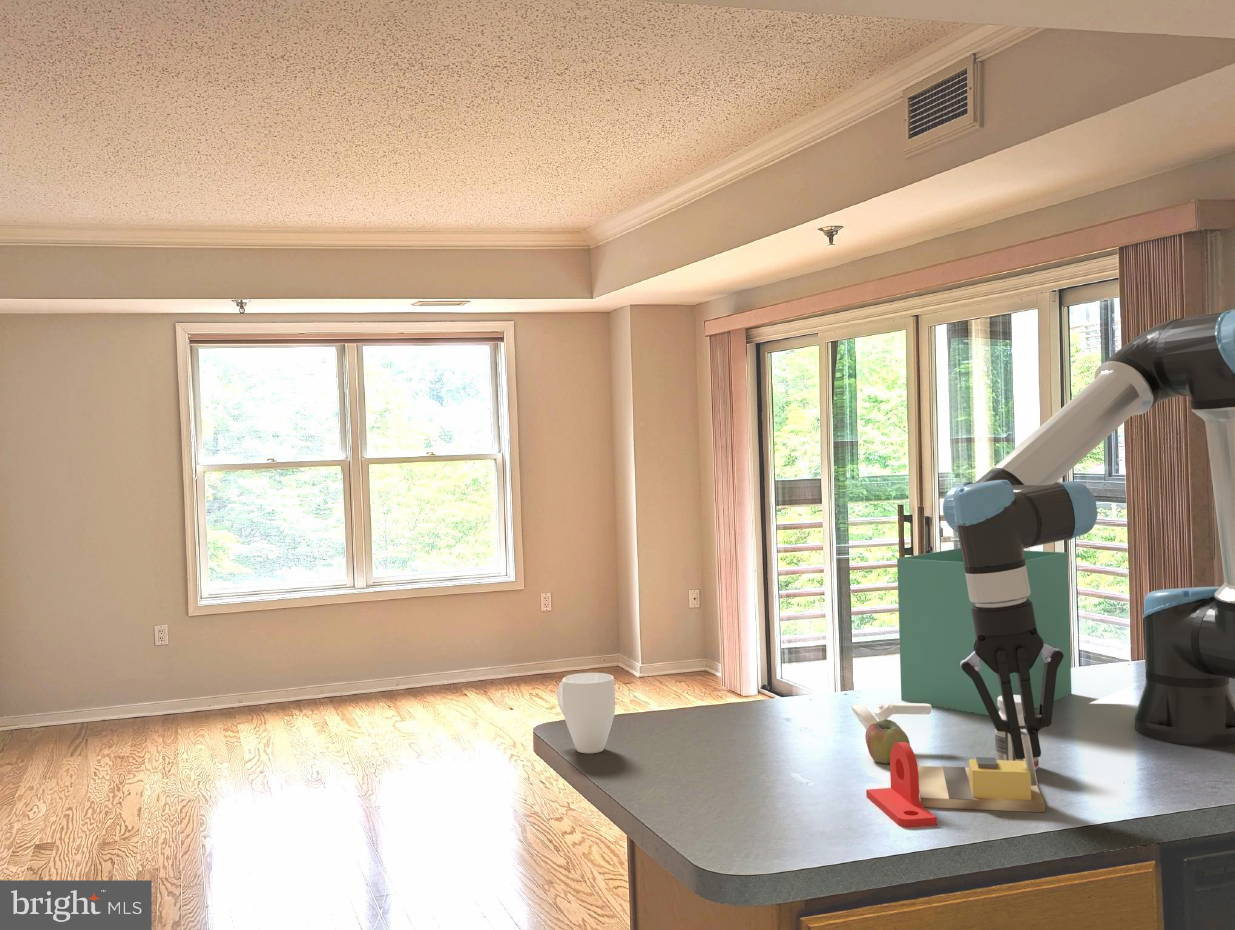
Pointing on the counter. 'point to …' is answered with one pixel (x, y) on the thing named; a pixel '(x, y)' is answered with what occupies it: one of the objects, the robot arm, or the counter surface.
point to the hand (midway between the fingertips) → (1031, 782)
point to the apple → (883, 739)
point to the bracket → (902, 791)
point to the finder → (999, 779)
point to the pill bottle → (1004, 739)
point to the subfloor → (966, 792)
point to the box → (971, 629)
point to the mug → (588, 709)
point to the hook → (888, 711)
